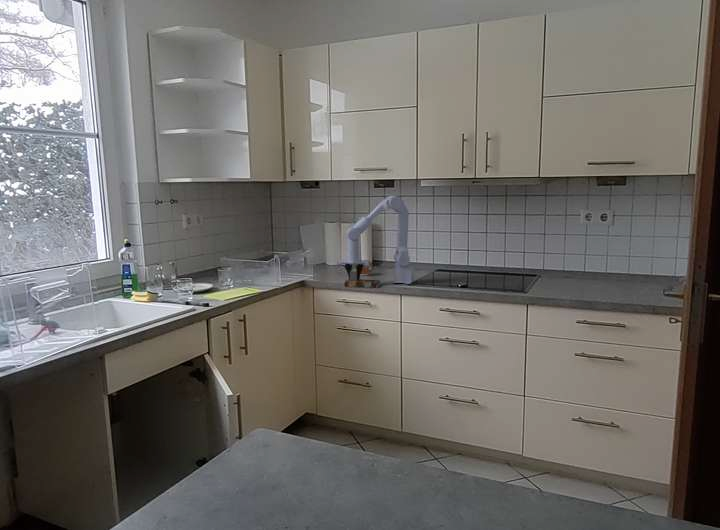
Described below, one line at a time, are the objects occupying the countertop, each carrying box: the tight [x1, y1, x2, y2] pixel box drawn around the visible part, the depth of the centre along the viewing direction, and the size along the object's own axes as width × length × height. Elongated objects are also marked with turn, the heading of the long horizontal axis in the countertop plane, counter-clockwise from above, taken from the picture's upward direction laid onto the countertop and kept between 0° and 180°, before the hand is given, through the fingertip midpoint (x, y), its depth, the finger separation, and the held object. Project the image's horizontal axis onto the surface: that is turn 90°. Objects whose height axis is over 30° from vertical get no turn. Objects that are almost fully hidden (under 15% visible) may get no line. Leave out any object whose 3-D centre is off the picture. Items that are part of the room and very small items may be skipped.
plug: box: [350, 269, 359, 282], centre depth 258 cm, size 4×4×8 cm
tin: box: [352, 259, 374, 276], centre depth 284 cm, size 15×3×8 cm, turn 76°
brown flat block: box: [344, 278, 380, 289], centre depth 257 cm, size 16×7×3 cm, turn 73°
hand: (354, 279), depth 258 cm, fingers closed on plug, 3 cm apart
